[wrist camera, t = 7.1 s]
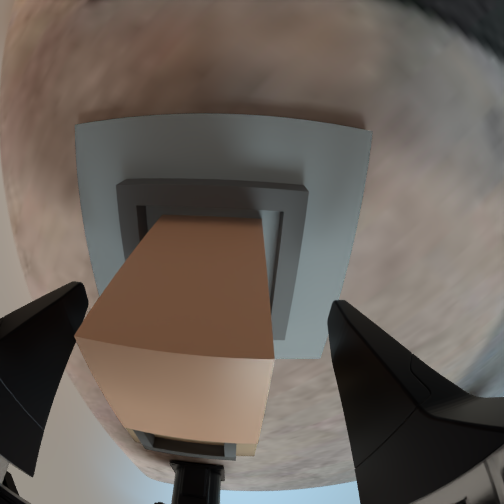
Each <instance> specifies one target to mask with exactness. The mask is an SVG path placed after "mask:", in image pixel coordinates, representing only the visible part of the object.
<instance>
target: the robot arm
mask: <svg viewBox="0 0 504 504" xmlns="http://www.w3.org/2000/svg"><path fill="white" fill-rule="evenodd" d="M87 308H88V298H87V294H86V291H85V287H84V285H83V283H81V282H75V281H73V282H71V283H68V284H66V285H64V286H62V287H60V288H58V289H56V290H54V291H52V292H50V293H48V294H46V295H44V296H42V297H40V298H38V299H36V300H34V301H32V302H31V303H29V304H27V305H25V306H23V307H21V308H19V309H17V310H15V311H13V312H12V313H10V314H8V315H6V316H5V317H2V318H0V504H31V503H29V502H27V501H26V500H24V499H23V498H21V497H20V496H19V494H18V491H17V489H16V486H15V484H14V481H13V478H12V476H11V474H10V473H9V472H7V468H8V465H9V463H10V464H12V465H13V466H15V467H16V468H18V469H19V470H21V471H23V472H24V473H26V474H28V475H29V476H31V477H33V475H34V472H35V467H36V462H37V457H38V453H39V449H40V445H41V441H42V437H43V433H44V429H45V426H46V422H47V419H48V416H49V412H50V409H51V406H52V403H53V400H54V397H55V394H56V391H57V389H58V386H59V383H60V380H61V378H62V375H63V372H64V370H65V367H66V364H67V362H68V359H69V357H70V355H71V352H72V350H73V347H74V345H75V343H76V339H75V337H74V335H75V334H76V332H77V330H78V329H79V327H80V326H81V324H82V322H83V320H84V317H85V314H86V311H87ZM327 326H328V334H329V341H330V350H331V358H332V364H333V368H334V372H335V376H336V381H337V385H338V389H339V394H340V398H341V402H342V407H343V412H344V416H345V421H346V426H347V431H348V435H349V440H350V446H351V451H352V456H353V461H354V467H355V468H356V469H355V473H356V479H357V485H358V491H359V497H360V503H361V504H504V397H493V398H482V397H476V396H473V395H471V394H469V393H467V392H465V391H464V390H463V389H461V388H460V387H458V386H457V385H455V384H454V383H452V382H451V381H449V380H448V379H446V378H445V377H443V376H442V375H440V374H439V373H438V372H436V371H435V370H433V369H432V368H430V367H429V366H428V365H427V364H425V363H424V362H423V361H421V360H420V359H419V358H418V357H416V356H415V355H414V354H412V353H411V352H410V351H409V350H408V349H406V348H405V347H404V346H403V345H401V344H400V343H399V342H398V341H396V340H395V339H394V338H393V337H391V336H390V335H389V334H388V333H386V332H385V331H384V330H382V329H381V328H380V327H379V326H377V325H376V324H375V323H374V322H372V321H371V320H370V319H368V318H367V317H366V316H365V315H363V314H362V313H361V312H360V311H358V310H357V309H356V308H354V307H353V306H352V305H351V304H349V303H348V302H347V301H345V300H334V301H333V303H332V305H331V309H330V312H329V316H328V320H327ZM170 466H171V467H172V469H173V470H174V472H175V473H176V474H175V481H174V488H173V496H172V503H171V504H220V486H221V481H225V475H224V467H222V466H211V465H201V464H192V463H185V462H178V461H170ZM154 504H163V503H162V502H158V503H154Z"/></svg>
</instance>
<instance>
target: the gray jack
mask: <svg viewBox="0 0 504 504" xmlns="http://www.w3.org/2000/svg"><path fill="white" fill-rule="evenodd" d="M372 133H373V131H368V130H363V129H358V128H353V127H348V126H342V125H336V124H330V123H324V122H317V121H310V120H302V119H294V118H284V117H274V116H261V115H245V114H209V113H201V114H165V115H149V116H137V117H126V118H117V119H109V120H102V121H95V122H89V123H82V124H77V125H75V146H76V164H77V176H78V186H79V195H80V203H81V210H82V217H83V223H84V229H85V235H86V240H87V246H88V250H89V255H90V260H91V264H92V269H93V273H94V277H95V281H96V285H97V289H98V293H99V296H101V294H102V293H103V291H104V290H105V288H106V287H107V286H108V284H109V283H110V281H111V280H112V279H113V277H114V276H115V274H116V273H117V272H118V270H119V269H120V268H121V266H122V265H123V264H124V262H125V261H126V260H127V258H128V257H129V256H130V254H131V253H132V252H133V250H134V249H135V248H136V247H137V245H138V244H139V243H140V241H141V240H142V239H143V238H144V236H145V235H146V234H147V233H148V231H149V230H150V229H151V228H152V227H153V225H154V224H155V223H156V222H157V220H158V219H159V218H160V217H161V216H162V215H192V216H217V217H238V218H257V219H262V225H263V235H264V246H265V256H266V266H267V277H268V288H269V299H270V310H271V321H272V333H273V344H274V356H275V359H318V358H320V357H321V355H322V352H323V349H324V346H325V343H326V340H327V337H328V326H327V320H328V316H329V312H330V309H331V305H332V303H333V301H334V300H339V297H340V293H341V290H342V286H343V282H344V279H345V275H346V271H347V267H348V263H349V259H350V255H351V251H352V246H353V242H354V237H355V233H356V228H357V224H358V219H359V214H360V209H361V204H362V198H363V193H364V187H365V181H366V175H367V169H368V163H369V156H370V148H371V141H372Z"/></svg>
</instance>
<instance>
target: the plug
mask: <svg viewBox="0 0 504 504" xmlns="http://www.w3.org/2000/svg"><path fill="white" fill-rule="evenodd" d="M74 337H75V339H76V342H77V344H78V346H79V348H80V350H81V352H82V355H83V357H84V359H85V361H86V363H87V365H88V367H89V369H90V371H91V373H92V375H93V376H94V378H95V380H96V382H97V384H98V386H99V387H100V389H101V391H102V393H103V394H104V396H105V398H106V400H107V401H108V403H109V405H110V406H111V408H112V410H113V411H114V413H115V414H116V416H117V417H118V419H119V421H120V422H121V424H122V425H123V427H125V428H129V429H133V430H138V431H142V432H147V433H152V434H158V435H163V436H169V437H176V438H183V439H191V440H199V441H209V442H222V443H240V444H258V441H259V436H260V431H261V427H262V422H263V417H264V412H265V408H266V403H267V398H268V393H269V387H270V382H271V377H272V372H273V366H274V361H275V356H274V344H273V333H272V321H271V310H270V299H269V288H268V277H267V266H266V256H265V246H264V235H263V225H262V219H257V218H238V217H217V216H192V215H162V216H161V217H160V218H159V219H158V220H157V222H156V223H155V224H154V225H153V227H152V228H151V229H150V230H149V231H148V233H147V234H146V235H145V236H144V238H143V239H142V240H141V241H140V243H139V244H138V245H137V247H136V248H135V249H134V250H133V252H132V253H131V254H130V256H129V257H128V258H127V260H126V261H125V262H124V264H123V265H122V266H121V268H120V269H119V270H118V272H117V273H116V274H115V276H114V277H113V279H112V280H111V281H110V283H109V284H108V286H107V287H106V288H105V290H104V291H103V293H102V294H101V296H100V297H99V298H98V300H97V301H96V303H95V304H94V306H93V307H92V309H91V310H90V312H89V313H88V315H87V316H86V318H85V319H84V321H83V322H82V324H81V326H80V327H79V329H78V330H77V332H76V334H75V335H74Z"/></svg>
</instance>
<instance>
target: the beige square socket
mask: <svg viewBox="0 0 504 504" xmlns="http://www.w3.org/2000/svg"><path fill="white" fill-rule="evenodd" d="M126 429H127V431H128V432H129V433H130V435H131V436H132V438H133V439H134V441H135V442H138V443H142V445H143V446H144V448H145V449H148V450H153V451H158V452H164V453H169V454H176V455H182V456H190V457H198V458H207V459H219V460H235V461H236V456H254V455H255V451H256V446H257V444H240V443H222V442H209V441H199V440H191V439H183V438H176V437H169V436H163V435H158V434H152V433H147V432H142V431H138V430H133V429H129V428H126Z"/></svg>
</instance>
